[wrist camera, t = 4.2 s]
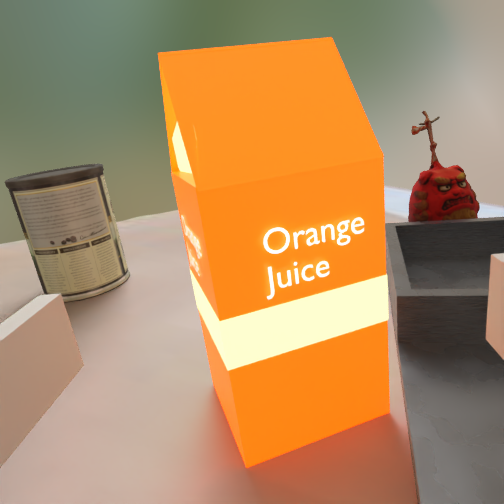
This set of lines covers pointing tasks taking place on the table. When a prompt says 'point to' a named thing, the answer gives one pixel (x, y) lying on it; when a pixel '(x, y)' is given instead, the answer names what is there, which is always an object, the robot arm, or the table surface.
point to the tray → (448, 356)
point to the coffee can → (70, 230)
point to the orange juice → (282, 237)
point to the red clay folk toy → (441, 189)
